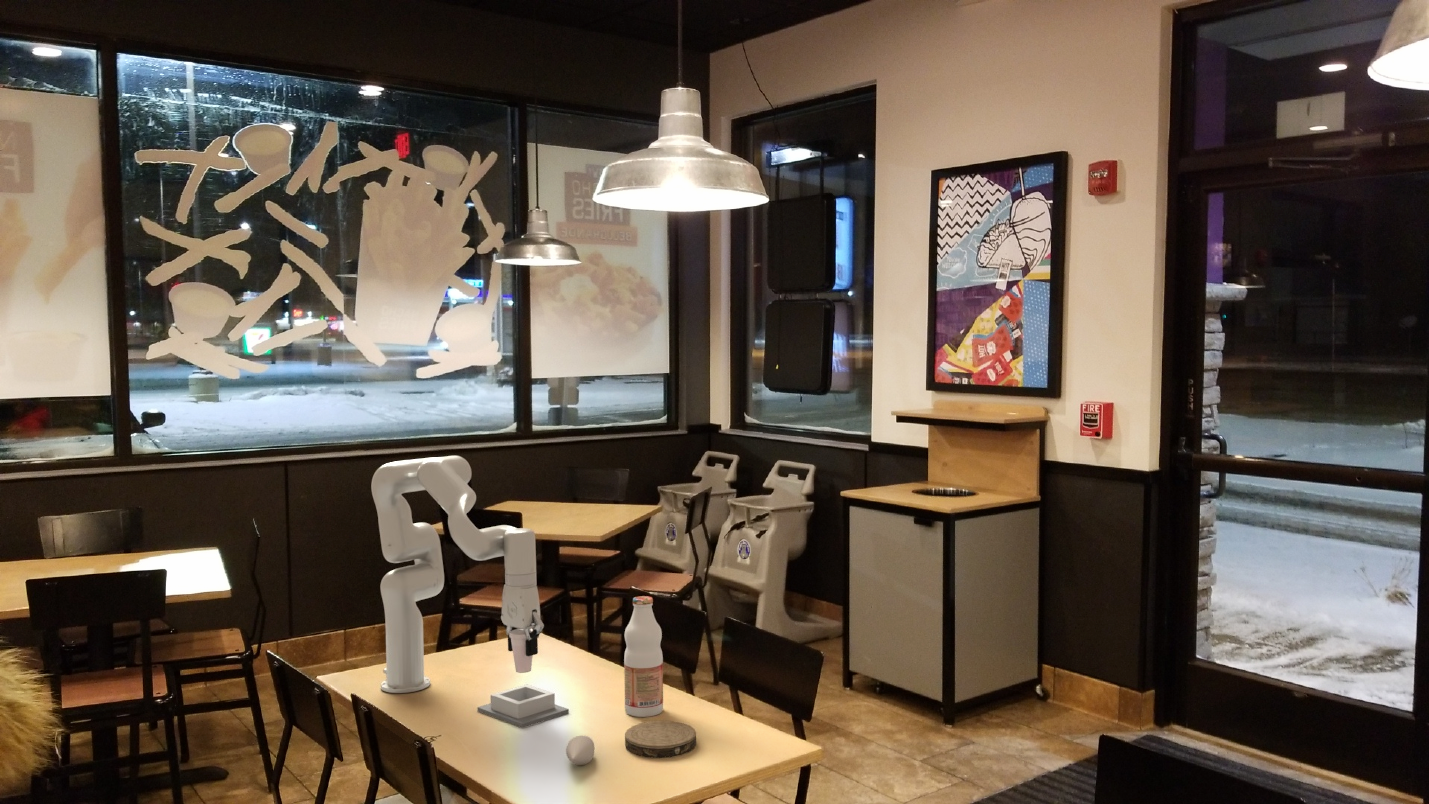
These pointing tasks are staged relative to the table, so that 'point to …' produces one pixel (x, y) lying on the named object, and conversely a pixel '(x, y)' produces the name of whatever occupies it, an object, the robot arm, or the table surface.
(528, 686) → the cup holder
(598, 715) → the table surface
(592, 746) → the beige pointed round piece
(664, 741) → the brown flat round piece
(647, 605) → the fruit juice
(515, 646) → the smoothie
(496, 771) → the table surface
